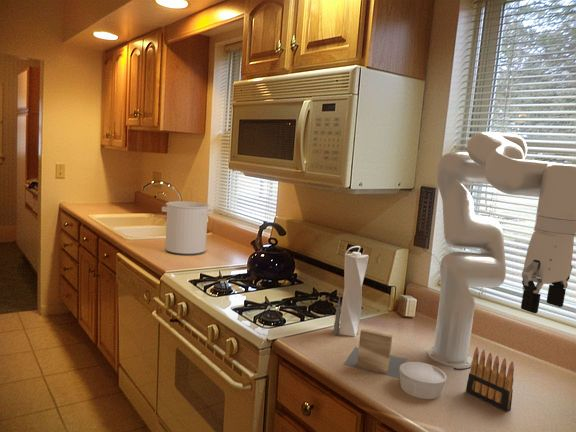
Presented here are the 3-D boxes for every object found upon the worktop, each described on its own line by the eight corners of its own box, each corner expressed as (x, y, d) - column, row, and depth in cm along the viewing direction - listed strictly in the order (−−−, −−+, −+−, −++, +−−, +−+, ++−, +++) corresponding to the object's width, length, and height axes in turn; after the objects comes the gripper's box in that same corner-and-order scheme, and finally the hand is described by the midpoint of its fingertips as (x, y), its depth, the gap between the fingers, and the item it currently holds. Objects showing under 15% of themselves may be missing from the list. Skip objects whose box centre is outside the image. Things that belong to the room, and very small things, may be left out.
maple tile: (359, 362, 129) (362, 327, 127) (388, 369, 126) (392, 334, 125) (356, 366, 127) (360, 330, 125) (386, 373, 124) (391, 337, 122)
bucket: (156, 254, 233) (158, 205, 229) (163, 245, 254) (165, 199, 251) (209, 257, 235) (211, 208, 232) (212, 247, 257) (214, 203, 253)
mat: (355, 348, 139) (355, 347, 139) (406, 361, 134) (407, 358, 134) (343, 366, 127) (343, 364, 127) (399, 380, 122) (399, 378, 122)
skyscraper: (337, 327, 155) (345, 243, 151) (361, 331, 153) (370, 246, 149) (332, 336, 147) (341, 248, 143) (358, 341, 145) (367, 252, 141)
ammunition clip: (465, 391, 119) (471, 346, 117) (469, 390, 120) (475, 345, 118) (507, 412, 110) (514, 363, 109) (510, 410, 112) (518, 362, 110)
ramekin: (453, 401, 114) (456, 381, 113) (412, 405, 110) (415, 384, 110) (427, 379, 124) (429, 360, 123) (389, 382, 121) (391, 362, 120)
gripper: (558, 221, 103) (546, 297, 105) (513, 224, 93) (500, 307, 96) (596, 228, 97) (581, 308, 99) (552, 231, 87) (537, 320, 90)
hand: (542, 307), depth 97 cm, fingers open, 9 cm apart
